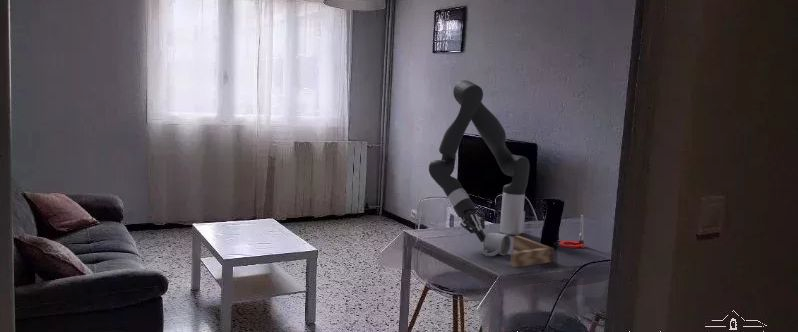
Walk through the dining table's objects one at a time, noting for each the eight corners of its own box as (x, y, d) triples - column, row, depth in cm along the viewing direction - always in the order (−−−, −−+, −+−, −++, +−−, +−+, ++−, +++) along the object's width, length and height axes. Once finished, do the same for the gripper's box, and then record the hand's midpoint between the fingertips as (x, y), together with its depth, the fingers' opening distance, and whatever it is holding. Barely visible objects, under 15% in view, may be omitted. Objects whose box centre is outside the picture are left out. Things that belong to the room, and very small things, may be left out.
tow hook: (561, 248, 238) (585, 249, 238) (563, 216, 237) (587, 217, 236) (557, 243, 247) (580, 243, 246) (558, 212, 245) (581, 212, 245)
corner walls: (516, 247, 234) (518, 235, 233) (552, 261, 218) (554, 248, 217) (479, 252, 224) (480, 239, 223) (514, 267, 208) (515, 253, 207)
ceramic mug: (491, 248, 230) (492, 229, 229) (510, 253, 225) (512, 233, 224) (477, 254, 222) (478, 234, 221) (496, 259, 217) (498, 238, 216)
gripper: (465, 206, 240) (488, 243, 233) (444, 209, 231) (467, 248, 224) (477, 196, 236) (500, 233, 229) (456, 198, 226) (480, 237, 219)
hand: (484, 240), depth 226 cm, fingers closed
